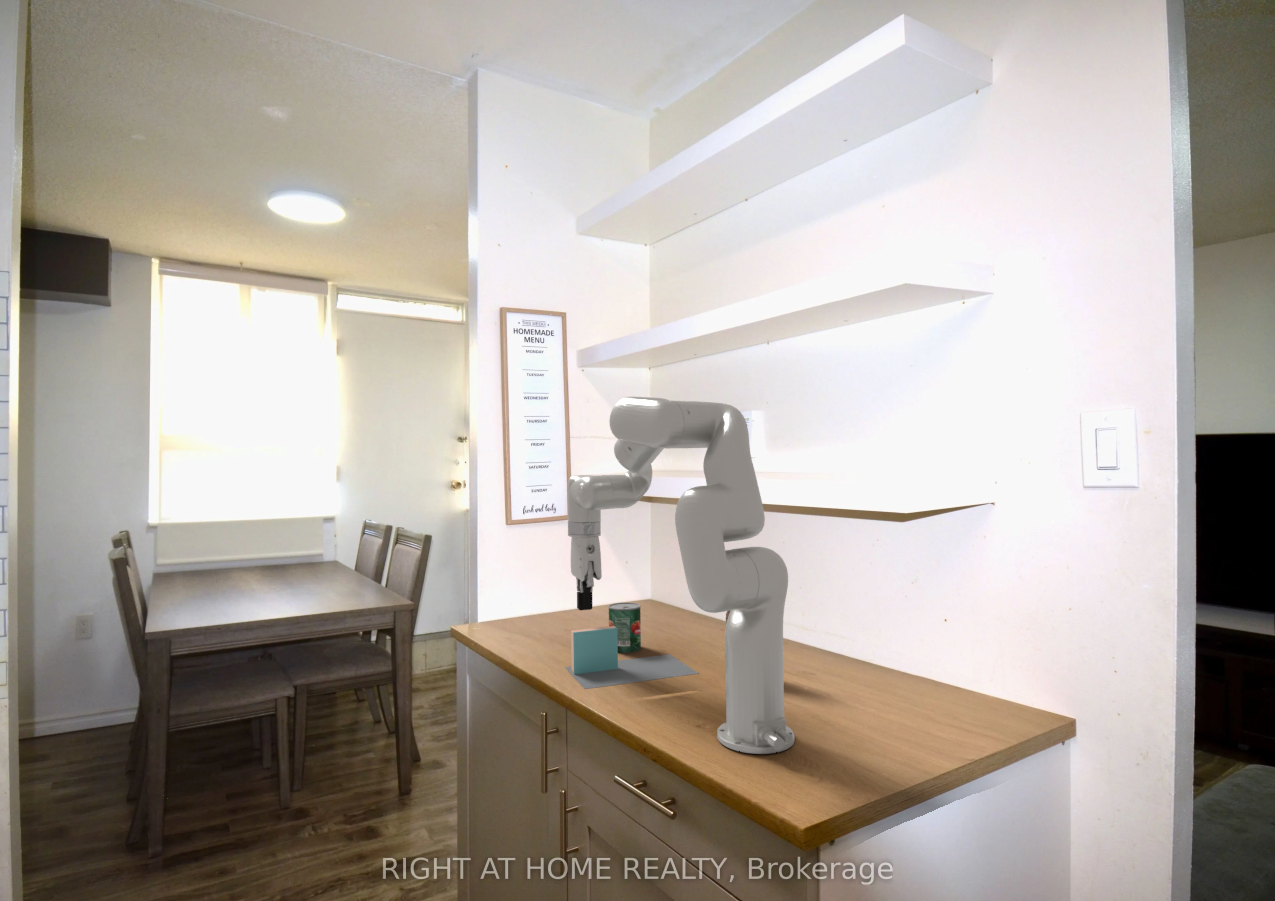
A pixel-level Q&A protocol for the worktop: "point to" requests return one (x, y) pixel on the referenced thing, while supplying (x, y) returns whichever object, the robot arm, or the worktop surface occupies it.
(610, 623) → the canned tomato
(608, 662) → the tile
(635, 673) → the mat
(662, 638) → the worktop surface
